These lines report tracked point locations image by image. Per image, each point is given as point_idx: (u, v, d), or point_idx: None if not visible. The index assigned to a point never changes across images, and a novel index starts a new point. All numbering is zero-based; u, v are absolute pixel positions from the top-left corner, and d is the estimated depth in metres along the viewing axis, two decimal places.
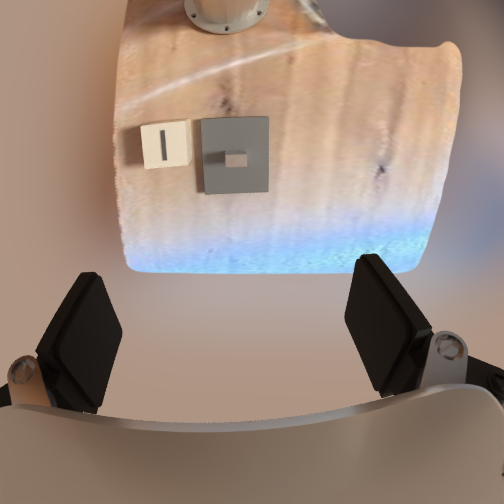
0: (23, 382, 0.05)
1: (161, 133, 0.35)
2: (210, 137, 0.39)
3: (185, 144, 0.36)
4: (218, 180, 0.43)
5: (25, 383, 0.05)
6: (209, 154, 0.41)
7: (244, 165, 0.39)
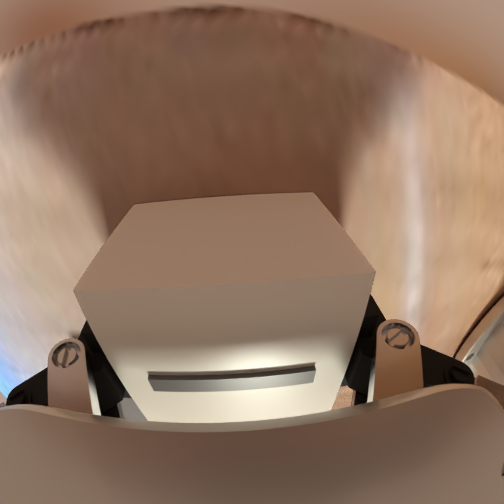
0: (64, 366, 0.06)
1: (300, 376, 0.07)
2: None
3: None
4: None
5: (66, 367, 0.05)
6: None
7: None
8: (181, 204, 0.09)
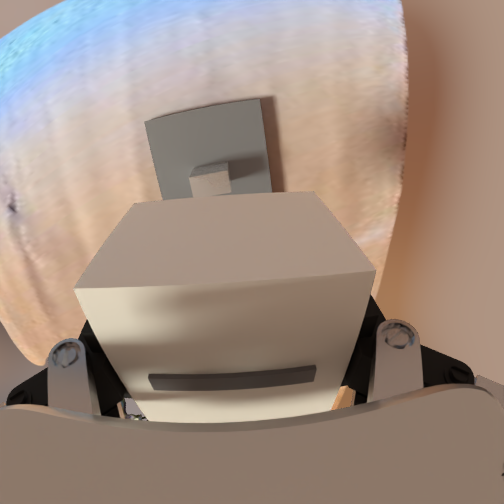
0: (64, 365, 0.06)
1: (300, 375, 0.07)
2: None
3: None
4: (237, 127, 0.22)
5: (66, 367, 0.05)
6: (257, 171, 0.24)
7: (194, 178, 0.21)
8: (181, 203, 0.09)
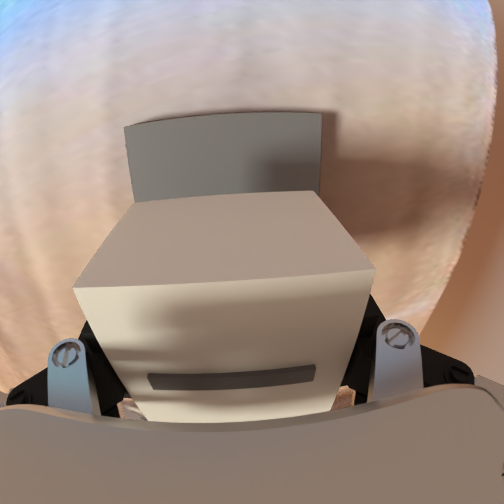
0: (64, 365, 0.06)
1: (300, 374, 0.07)
2: None
3: None
4: (278, 155, 0.14)
5: (66, 367, 0.05)
6: None
7: None
8: (181, 202, 0.09)
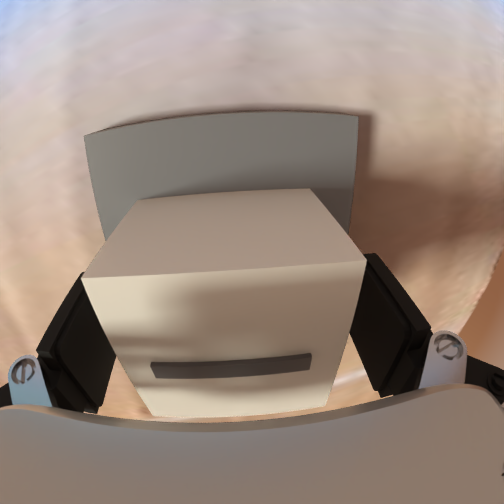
0: (24, 382, 0.05)
1: (297, 363, 0.07)
2: None
3: (232, 414, 0.09)
4: (298, 173, 0.10)
5: (26, 383, 0.05)
6: None
7: None
8: (183, 199, 0.10)
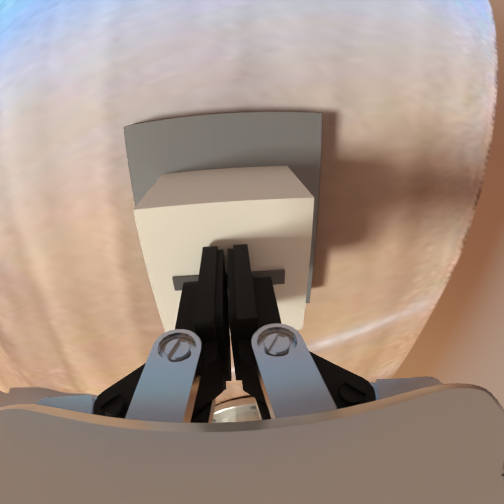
0: (170, 358, 0.06)
1: (274, 276, 0.11)
2: None
3: None
4: (278, 154, 0.14)
5: (171, 361, 0.06)
6: None
7: None
8: (196, 173, 0.13)
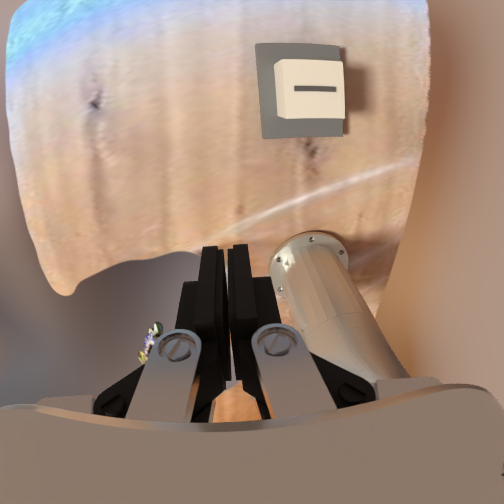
0: (170, 358, 0.06)
1: (332, 88, 0.24)
2: None
3: (314, 116, 0.26)
4: None
5: (172, 362, 0.06)
6: None
7: None
8: None
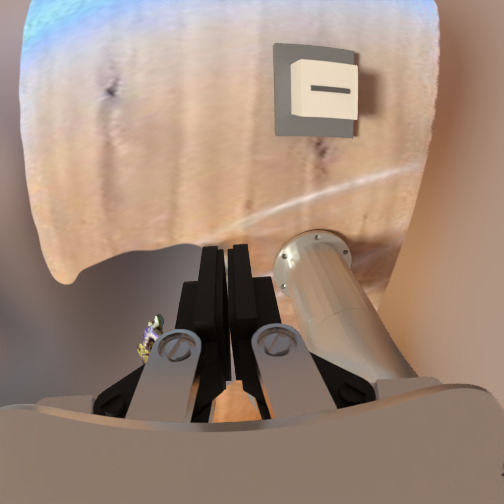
0: (170, 358, 0.06)
1: (346, 90, 0.25)
2: None
3: (328, 116, 0.27)
4: None
5: (172, 362, 0.06)
6: None
7: None
8: None
